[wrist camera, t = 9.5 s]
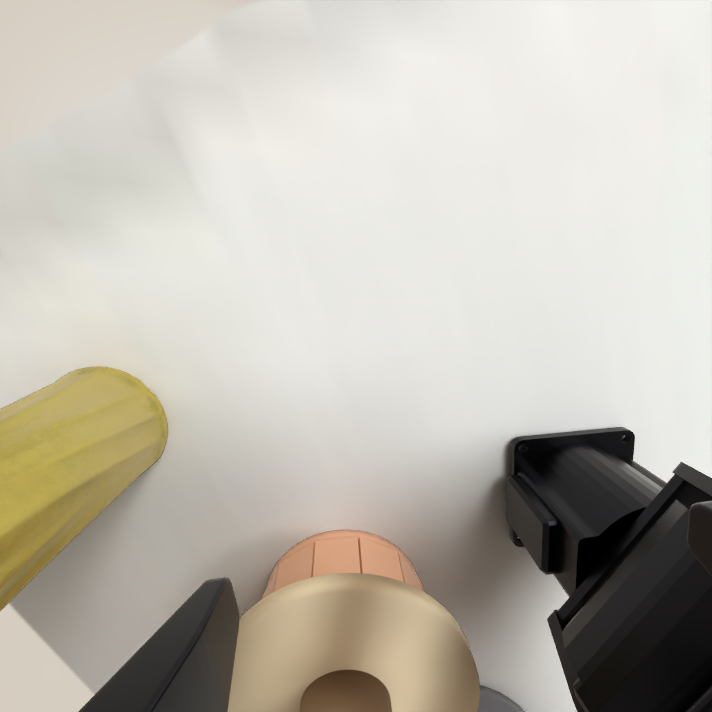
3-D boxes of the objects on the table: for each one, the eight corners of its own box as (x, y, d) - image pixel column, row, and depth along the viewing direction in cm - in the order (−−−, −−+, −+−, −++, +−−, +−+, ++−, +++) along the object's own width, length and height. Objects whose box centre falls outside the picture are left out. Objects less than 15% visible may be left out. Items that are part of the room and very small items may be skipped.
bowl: (416, 521, 23) (437, 592, 18) (422, 649, 25) (443, 744, 20) (256, 537, 22) (233, 613, 17) (276, 665, 24) (261, 765, 20)
